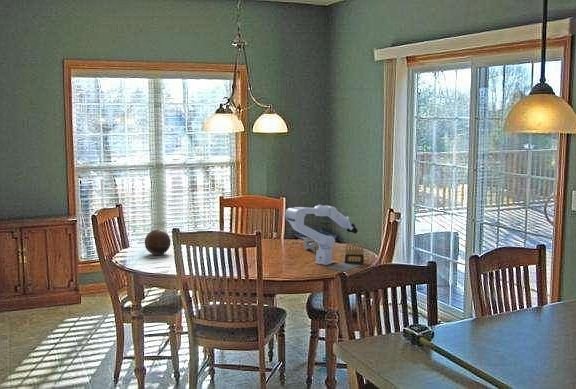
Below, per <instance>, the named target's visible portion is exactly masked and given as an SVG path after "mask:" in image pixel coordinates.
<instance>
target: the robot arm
mask: <svg viewBox="0 0 576 389" xmlns="http://www.w3.org/2000/svg"><path fill="white" fill-rule="evenodd" d="M284 214H285V215H284V217H285V219H286V221H288V222H289V224H290V226H291V228H292V229H293V230H294V231H296V232H298V233H300V234H301V235H304V236H306V237H307V238H309V239H314V240H315V241H316V242H317V244H318V245H319V249H318V250H317V252H315V261H314V264H317V265H325V266H327V265H331V264H333V263H336V261H335V260H333V248H334V246H335V244H336V239H335V237H334V236H330V235H325V234H322V233H321V232H318V231H317V230H315V229H314V228H311V227H309V226H307V225H305V217H306V215H309V214H312V215H313V214H314V215H315V217H329V218H330V219H331V220H332V221H334V222H335V223H336V224H337V225H339V226H340V227H341V228H345V229H346V231H347V232H348V233H353V234H357V233H358V231H359V229H357V227H356V225H355V223H353V222H352V223H351V222H350V217H349V216H345V215H343V214H342V213H341V212H340V211H338V210H337V207H336V206H332V205H331V206H330V205H328V204H326V205H322V204H318V205H315V206H314V207H306V206H304V207H303V206H295V207H288V208H287V209H286V210H285V213H284Z"/></svg>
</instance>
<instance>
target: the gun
mask: <svg viewBox="0 0 576 389" xmlns="http://www.w3.org/2000/svg"><path fill="white" fill-rule="evenodd" d="M303 249H304V250H305V251H306V250H307V251H309V250H311V251H312V252H313V253H316V252H317V250H318V249H319V245H318V244H317V242H316V241H315V240H314V239H312V238H309V239H307V238H305V239H303Z"/></svg>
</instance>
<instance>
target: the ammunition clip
mask: <svg viewBox="0 0 576 389" xmlns="http://www.w3.org/2000/svg"><path fill="white" fill-rule="evenodd" d="M345 244H346V245H345V251H344V252H345V253H344V262H343V263H349V264H355V265H361V264H362V265H363V264H364V260H365V259H364V257H365V255H364V254H365V253H364V251H365V250H364V249H365V248H364V242H354V241H353V242H349V243H348V241H347V242H346V243H345Z"/></svg>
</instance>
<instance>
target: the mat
mask: <svg viewBox="0 0 576 389" xmlns="http://www.w3.org/2000/svg"><path fill="white" fill-rule="evenodd" d="M359 267H361V264H353V263H344V262H340V263H338V264H334V265H331V266H330V265H329V266H328V267H326V269H328V270H333V271H334V270H335V271H340V272H348V271H350V270H354V269H357V268H359Z"/></svg>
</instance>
